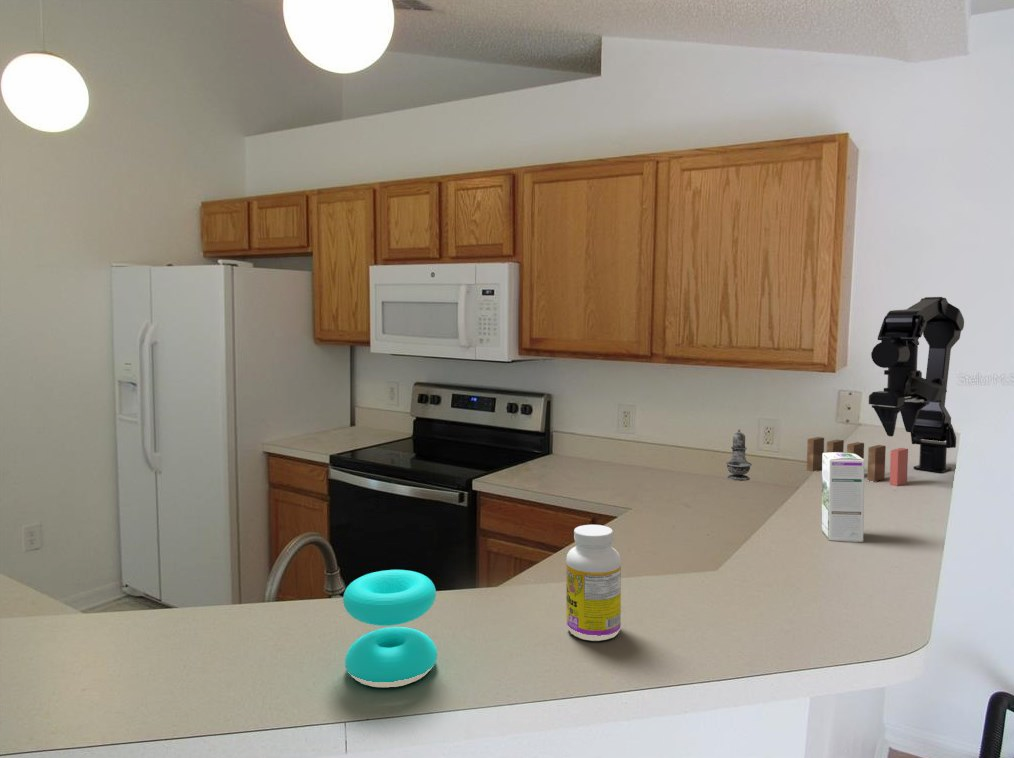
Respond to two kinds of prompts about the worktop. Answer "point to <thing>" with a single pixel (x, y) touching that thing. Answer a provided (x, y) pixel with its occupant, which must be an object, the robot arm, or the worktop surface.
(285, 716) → the worktop surface
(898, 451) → the domino
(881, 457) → the domino
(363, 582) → the teal rings
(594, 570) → the supplement bottle
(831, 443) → the domino
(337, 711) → the worktop surface
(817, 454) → the domino
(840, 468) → the syrup box
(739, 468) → the salt shaker
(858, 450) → the domino
